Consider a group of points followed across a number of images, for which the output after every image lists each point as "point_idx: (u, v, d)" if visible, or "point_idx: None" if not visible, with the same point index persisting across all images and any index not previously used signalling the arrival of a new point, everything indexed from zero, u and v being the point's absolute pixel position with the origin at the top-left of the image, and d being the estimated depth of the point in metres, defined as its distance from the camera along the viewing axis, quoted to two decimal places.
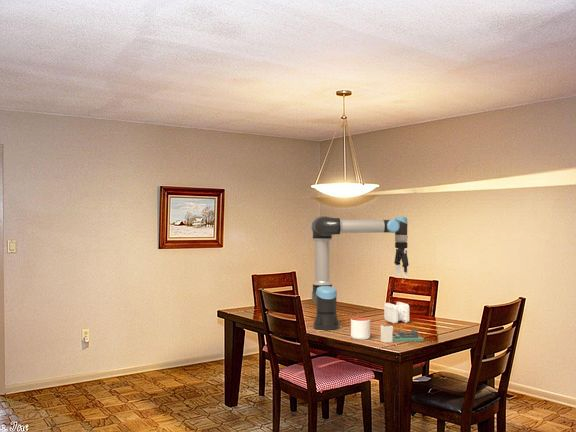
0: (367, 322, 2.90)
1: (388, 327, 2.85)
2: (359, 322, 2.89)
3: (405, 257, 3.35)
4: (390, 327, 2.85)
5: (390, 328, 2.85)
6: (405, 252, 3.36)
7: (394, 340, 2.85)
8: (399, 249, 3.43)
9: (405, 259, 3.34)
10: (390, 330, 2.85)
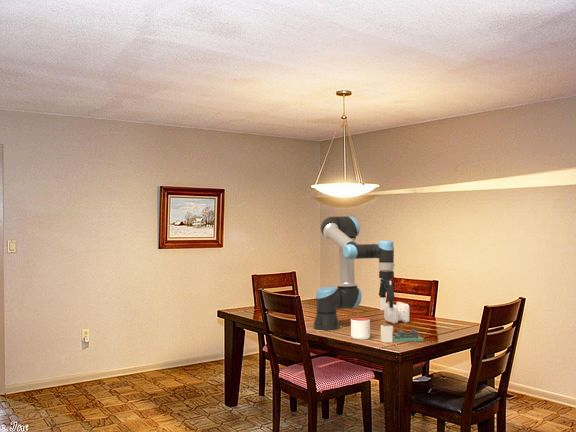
0: (367, 322, 2.90)
1: (388, 327, 2.85)
2: (359, 322, 2.89)
3: (391, 290, 2.79)
4: (390, 327, 2.85)
5: (390, 328, 2.85)
6: (391, 284, 2.80)
7: (394, 340, 2.85)
8: (384, 279, 2.87)
9: (391, 292, 2.78)
10: (390, 330, 2.85)
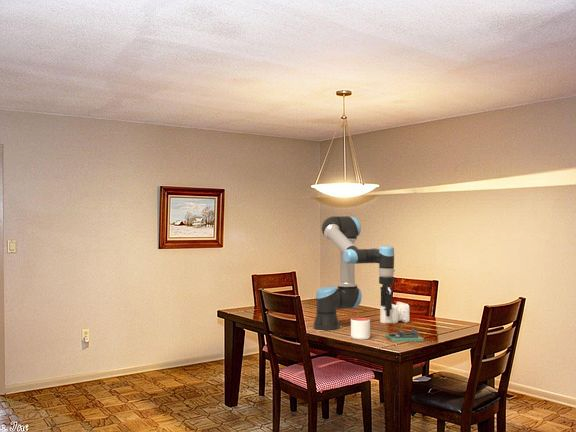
0: (367, 322, 2.90)
1: None
2: (359, 322, 2.89)
3: (389, 299, 2.81)
4: None
5: None
6: (390, 293, 2.81)
7: (394, 340, 2.85)
8: (384, 285, 2.87)
9: (389, 302, 2.81)
10: (390, 311, 2.85)
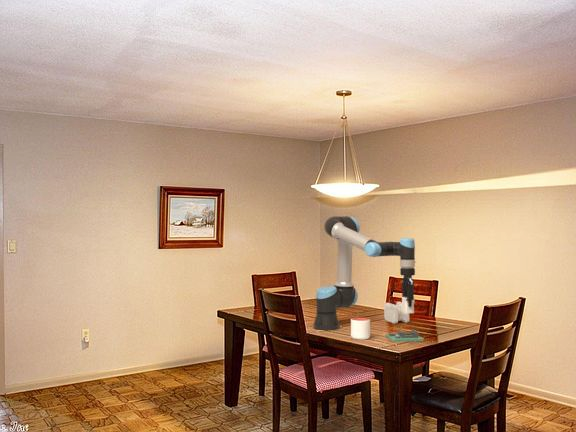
0: (367, 322, 2.90)
1: None
2: (359, 322, 2.89)
3: (411, 290, 2.87)
4: None
5: None
6: (412, 284, 2.87)
7: (394, 340, 2.85)
8: (405, 276, 2.93)
9: (411, 292, 2.87)
10: None
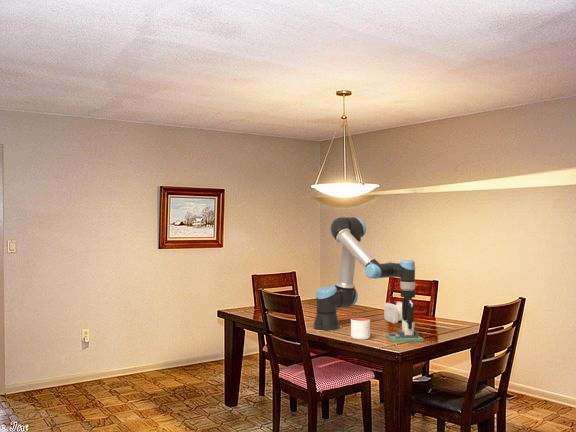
0: (367, 322, 2.90)
1: None
2: (359, 322, 2.89)
3: (411, 312, 2.87)
4: None
5: None
6: (412, 306, 2.87)
7: (394, 340, 2.85)
8: (405, 298, 2.93)
9: (411, 315, 2.87)
10: None
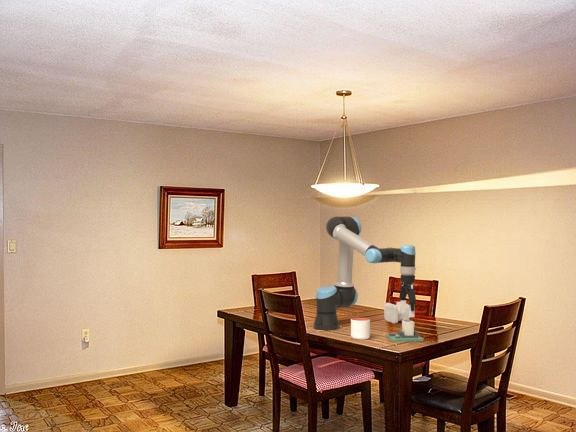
0: (367, 322, 2.90)
1: (409, 322, 2.91)
2: (359, 322, 2.89)
3: (412, 293, 2.85)
4: (411, 322, 2.91)
5: (411, 323, 2.91)
6: (412, 287, 2.87)
7: (394, 340, 2.85)
8: (405, 283, 2.93)
9: (412, 296, 2.85)
10: (411, 325, 2.91)
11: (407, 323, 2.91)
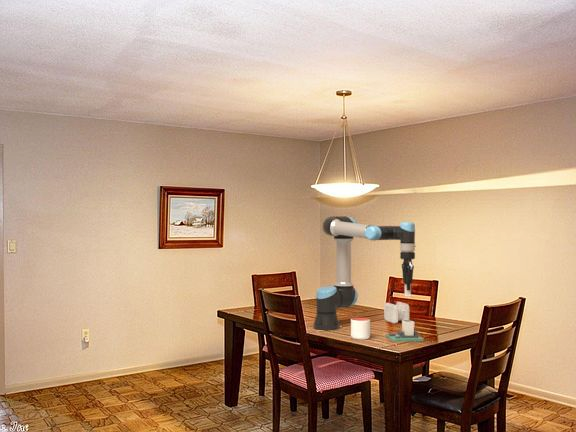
0: (367, 322, 2.90)
1: (409, 322, 2.91)
2: (359, 322, 2.89)
3: (410, 274, 2.89)
4: (411, 322, 2.91)
5: (411, 323, 2.91)
6: (411, 268, 2.88)
7: (394, 340, 2.85)
8: (405, 260, 2.94)
9: (409, 276, 2.89)
10: (411, 325, 2.91)
11: (407, 323, 2.91)
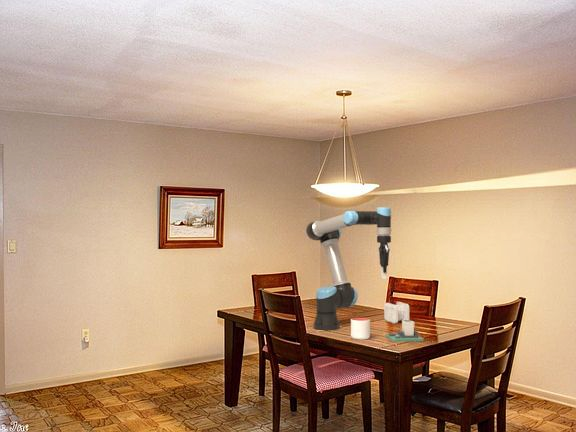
0: (367, 322, 2.90)
1: (409, 322, 2.91)
2: (359, 322, 2.89)
3: (386, 257, 3.01)
4: (411, 322, 2.91)
5: (411, 323, 2.91)
6: (387, 251, 3.00)
7: (394, 340, 2.85)
8: (381, 244, 3.06)
9: (385, 259, 3.01)
10: (411, 325, 2.91)
11: (407, 323, 2.91)
